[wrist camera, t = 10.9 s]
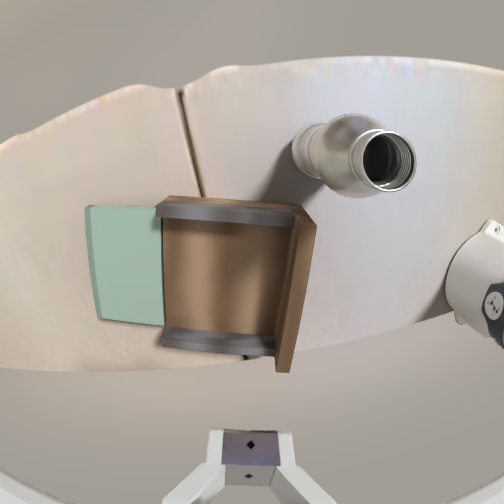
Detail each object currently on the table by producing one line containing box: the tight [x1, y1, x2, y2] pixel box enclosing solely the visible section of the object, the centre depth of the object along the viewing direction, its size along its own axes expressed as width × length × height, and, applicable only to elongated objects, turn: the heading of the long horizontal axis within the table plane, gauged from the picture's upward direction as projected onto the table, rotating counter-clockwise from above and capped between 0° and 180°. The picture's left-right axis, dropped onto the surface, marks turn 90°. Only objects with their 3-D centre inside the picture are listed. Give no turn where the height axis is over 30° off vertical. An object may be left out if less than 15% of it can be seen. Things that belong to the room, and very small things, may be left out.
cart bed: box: [156, 196, 317, 373], centre depth 35 cm, size 16×18×9 cm
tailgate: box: [85, 205, 166, 326], centre depth 36 cm, size 2×16×10 cm
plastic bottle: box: [291, 113, 416, 198], centre depth 24 cm, size 6×7×20 cm
